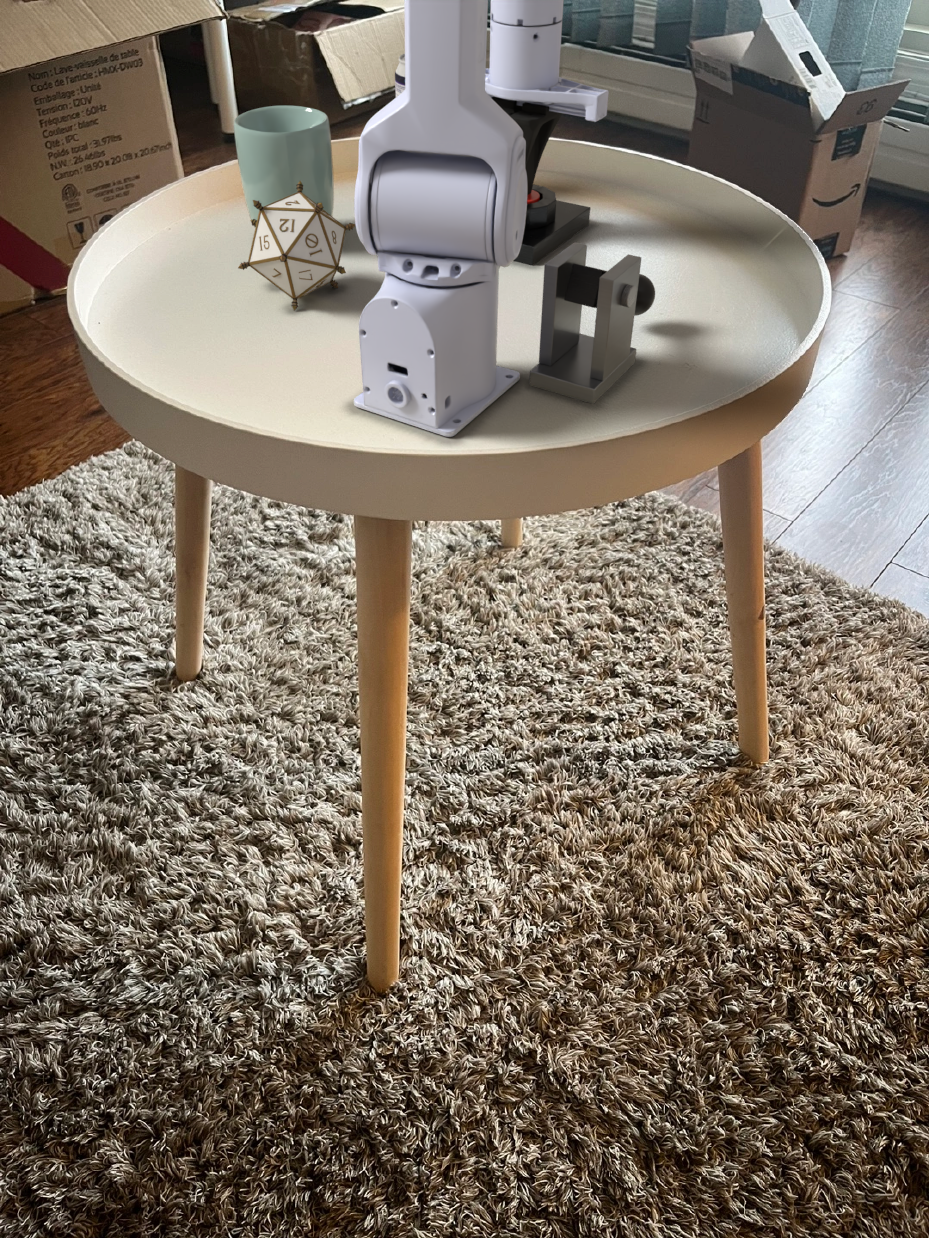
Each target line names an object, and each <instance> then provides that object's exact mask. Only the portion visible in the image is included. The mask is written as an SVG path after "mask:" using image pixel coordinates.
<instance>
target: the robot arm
mask: <svg viewBox="0 0 929 1238" xmlns="http://www.w3.org/2000/svg"><path fill="white" fill-rule="evenodd" d="M403 2H404V3H403V4H404V5H403V7H404V8H403V10H404V11H403V12H404V15H403V17H404V54H405V90H404V91H403V92H402V93H401V94H400V95H399V96H397V97H396V96H395V98H394V99H392V100H391V101H389V102H388V103H387V104H386V105H385V106H383V107H382V108H380V109H379V111H377V112H376V113H374V115H372V117H370V119H369V120H368V121H367V122H366V124H365V126H364V128H363V130H362V132H361V134H360V137H359V139H358V140H359V141H358V164H357V166H358V167H357V174H356V178H355V186H354V199H353V205H354V206H353V213H354V224H356V225H355V230H356V233H357V236H358V239H359V241H360V242H361V244H362V245H363V247H364V249H365V251H366V252H367V253H368V254H370V255H372V256H377V270H378V271H379V272H382V273H384V279H383V280H382V283H381V286H380V289H378V291H377V292H376V294H375V295H374V296H373V297H372V298H371V300H370V301H369V302H368V303H367V304H366V305H365V307H364V308H363V309H362V312H361V314H360V317H359V321H358V340H359V341H358V342H359V354H360V355H359V356H360V366H361V367H360V368H361V381H362V392H361V393H359V394H358V395H357V396H355V397H354V398H353V405H354V407H356V408H359V409H362V410H365V411H367V412H370V413H373V414H375V415H380V416H382V417H385V418H389V419H392V420H395V421H396V422H397V421H398V422H400V423H404V424H407V425H409V426H413V427H416V428H419V429H421V430H425V431H427V432H431V433H434V434H438V435H440V436H442V437H446V438H452V437H454V436H456V435H457V434H458V433H459V432H461V431H462V430H463V429H464V428H465V427H466V426H467V425H468V424H470V423H471V422H472V421H473V420H475V419H476V418H477V417H478V416H479V415H480V414H481V413H482V412H484V411H485V410H486V409H487V408H488V407H490V406H491V405H492V404H493V403H494V402H495V401H497V400H498V399H499V398H500V397H501V396H502V395H503V394H505V393H506V392H507V391H508V390H509V389H510V388H512V387H513V386H514V385H515V384H516V383H517V382H519V381H520V379H521V374H520V372H519V371H517V370H513V369H511V368H508V367H503V366H501V365H497V357H498V354H497V353H498V323H499V322H498V319H499V318H498V317H499V283H500V282H499V281H500V268H508V267H509V266H510V265H511V264H512V263H513V262H514V261H513V260H515V259H516V258H517V256H518V254H519V252H520V248H521V245H522V240H523V234H524V228H525V220H526V210H527V195H529V194H530V193H531V191H532V187H533V184H534V182H535V178H536V174H537V171H538V167H539V164H540V162H541V159H542V156H543V153H544V152H545V149H546V146H547V143H548V142H549V139H550V137H551V135H552V134H553V132H554V129H556V126H557V124H558V123H559V121H560V120H561V117H562V114H563V115H565V114H566V115H570V116H576V117H582V118H584V120H585V121H588V122H594V123H596V122H598V121H600V120H602V119H604V118H605V117H607V115H608V105H609V104H608V103H609V93H610V92H609V90H608V89H603V88H598V87H594V86H590V85H587V84H583V83H580V82H577V81H574V80H571V79H568V78H565V77H561V76H560V63H561V48H562V47H561V46H562V34H563V33H562V31H563V17H564V16H563V14H564V0H490V20H489V21H490V22H489V23H490V24H489V26H490V27H489V67H487V41H488V40H487V39H488V10H489V9H488V8H489V7H488V6H489V0H403Z"/></svg>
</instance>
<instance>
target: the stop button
mask: <svg viewBox="0 0 929 1238" xmlns="http://www.w3.org/2000/svg"><path fill="white" fill-rule="evenodd" d="M539 199H540V195H539V193H538V192H536V191H534V190H532V191H531V193H530V194H529V195H527V204H531V203H536V202H538V201H539Z"/></svg>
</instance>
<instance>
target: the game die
mask: <svg viewBox="0 0 929 1238" xmlns="http://www.w3.org/2000/svg"><path fill="white" fill-rule="evenodd" d="M296 186H297V188H296V189H297V193H294V194H292V195H290V196H287V197H285V198H282V199H280V200H278V201H275V202H273V203H271V204H268V205H266V206H262V205H261V203H260V202H259V201H256V200H253V203H254V207H256V208H257V209H259V214H258V219H257V220H256V219H253V220H251V219H250V223H251V226H252V227H254V233H253V237H252V241H251V246H250V250H249V255H248V259H247V261H243V262H240V264H239V266H238V267H237V269H239V270H243V271H244V270H245V269H248V268H249V267H250V268H251V269H253V270H254V271H255V272H257V273H258V274H259V275H260V276H262V277H263V278H264V279H266V280H267V281H269V282H270V283H271V284H272V285H273V286H275V287H276V288H278V289H279V290H280V291H281V292H282V293H284V294H286V295H287V296H288V297H289V298H291V299H292V301H291V305H290V306H291V307H292V309H293V311H294V312H295V311H296V310H297V308H299V302H298V300H299V299H301V298H303V297H305V296H307V295H309V294H310V293H312V292H314V291H317V290H318V289H320V288H322V287H324V286H327V285H328V284H329V285H330V286H331V288H332V289H333V288H335V289H339V286H338V284H339V283H338V282H337V281H336V280H335V279H334V278H335V276H336V273H339V274H341V275H343V274H347V272H346V270H345V267H344V266H342V265H340V261H341V256H342V252H343V247H344V241H345V236H346V232H347V231H349V232H350V231H351V230H352V231H353V230H354V228H355V227H356V224H355V223H352V222H349V223H346V225H344V224H342V223H341V222H340V221H338V220H337V219H336V218H335V217H333V216H331V215H330V214H328V213H327V212H326V211H325V210H323V208H324V207H323V205H322V203H317V204H316V203H315V202H313V201H312V200H311V199H309V198H308V197H307V196H306V195H304V194H303V193H302V190H303V184H302V183H301V181H299V183H298V184H297V185H296ZM255 227H256V228H255Z"/></svg>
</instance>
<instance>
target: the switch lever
mask: <svg viewBox="0 0 929 1238" xmlns="http://www.w3.org/2000/svg"><path fill="white" fill-rule="evenodd" d="M607 271H608V270H604V269H600V268H596V267H592V266H589V265H585V266H584V265H579V264H575V263H573V266H572V270H571V274H570V278H569V282H568V286H567V291H566V295H565V299H564V300H565V301H569V302H573V303H577V304H581V305H582V306H584V307H588V308H592V309H597V301H598V291H599V281H600V277H601V276H602V275H603V274H605V273H606V272H607ZM655 299H656V288H655V285H654V283H653V282H652V280H651V279H650V278H649V277H648V276H646V275H645V274H641V273H640V275H639V283H638V291H637V299H636V307H635V315H634V317H636V316H641V315H643V314H646V312H648V311H649V310H650V309H651V308H652V306H653V304H654V302H655Z"/></svg>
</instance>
